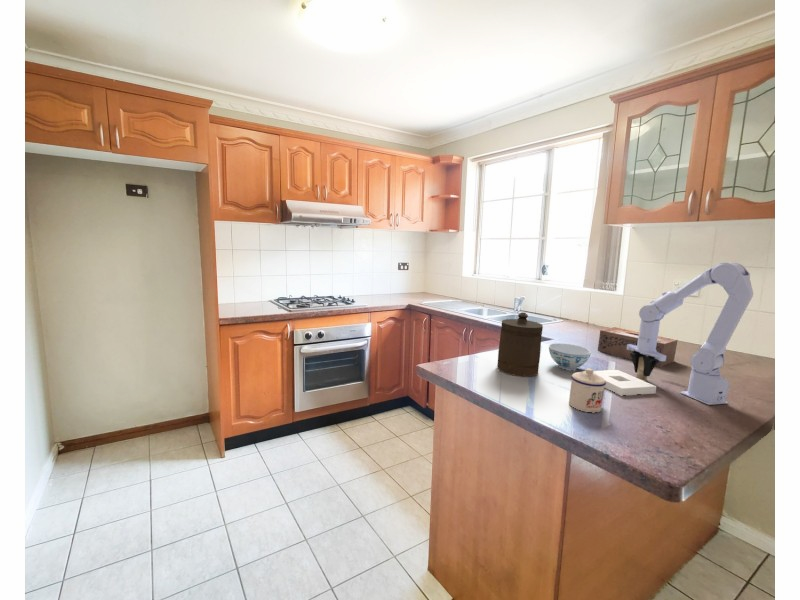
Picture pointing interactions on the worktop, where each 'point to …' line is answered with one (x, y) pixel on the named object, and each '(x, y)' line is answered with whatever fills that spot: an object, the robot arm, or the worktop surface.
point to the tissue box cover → (619, 338)
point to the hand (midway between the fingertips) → (642, 374)
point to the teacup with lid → (587, 391)
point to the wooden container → (520, 346)
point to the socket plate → (625, 383)
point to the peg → (641, 370)
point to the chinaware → (569, 355)
